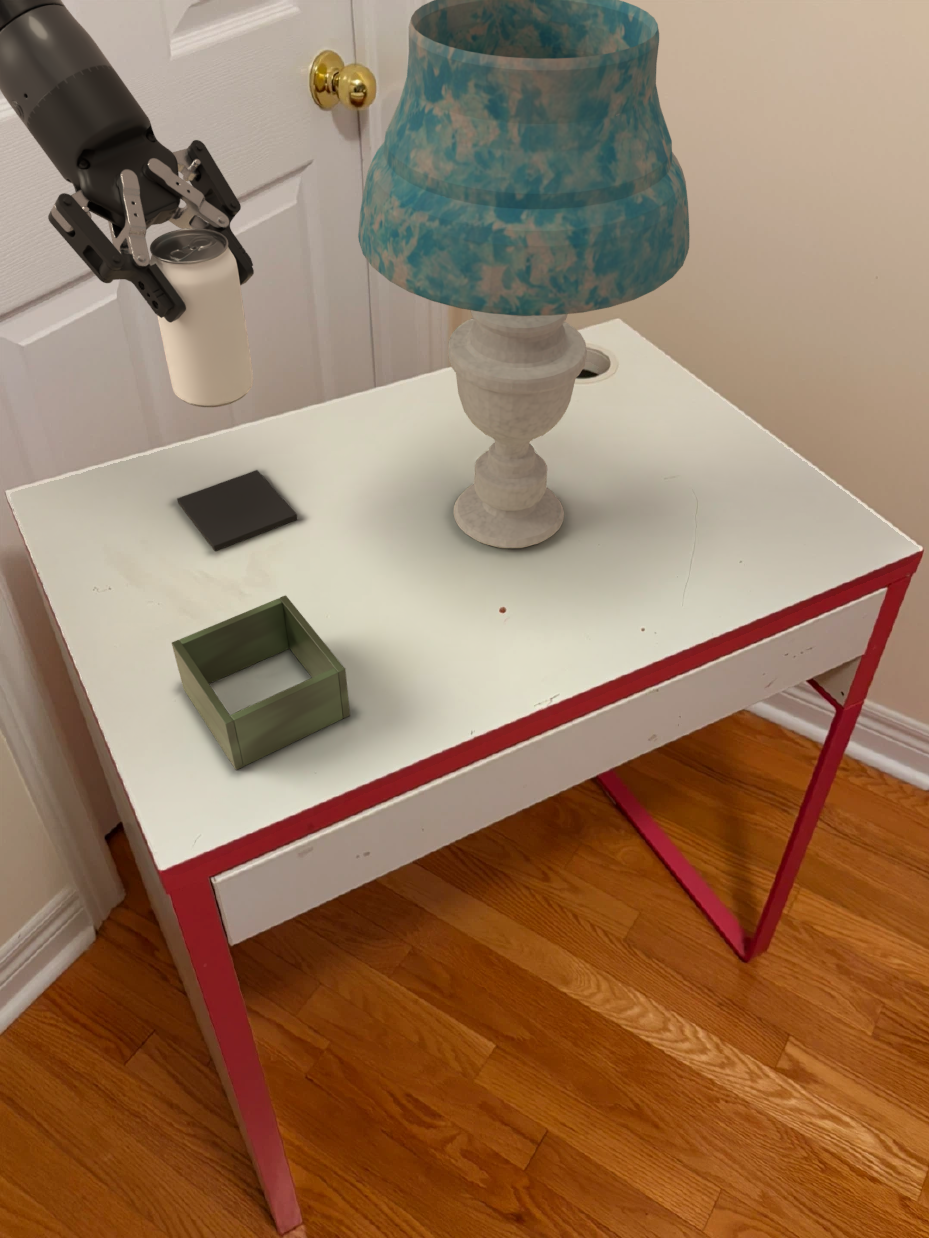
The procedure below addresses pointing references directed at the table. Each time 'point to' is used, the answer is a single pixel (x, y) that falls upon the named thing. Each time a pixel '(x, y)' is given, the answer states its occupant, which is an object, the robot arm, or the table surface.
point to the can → (204, 318)
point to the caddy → (280, 713)
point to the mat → (236, 509)
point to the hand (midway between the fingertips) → (213, 297)
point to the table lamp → (524, 214)
